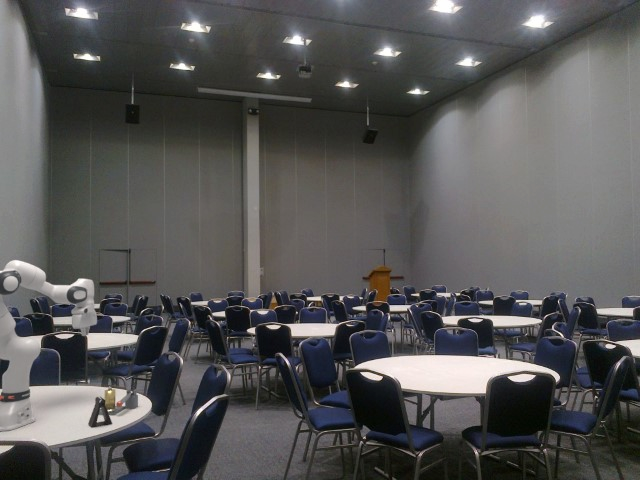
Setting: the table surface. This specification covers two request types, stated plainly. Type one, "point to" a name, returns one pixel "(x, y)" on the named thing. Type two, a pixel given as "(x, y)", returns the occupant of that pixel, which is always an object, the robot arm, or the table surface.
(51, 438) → the table surface
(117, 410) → the press bed
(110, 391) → the gold upright cylinder
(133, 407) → the lever post
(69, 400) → the table surface
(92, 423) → the black triangular frame
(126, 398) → the press lever
